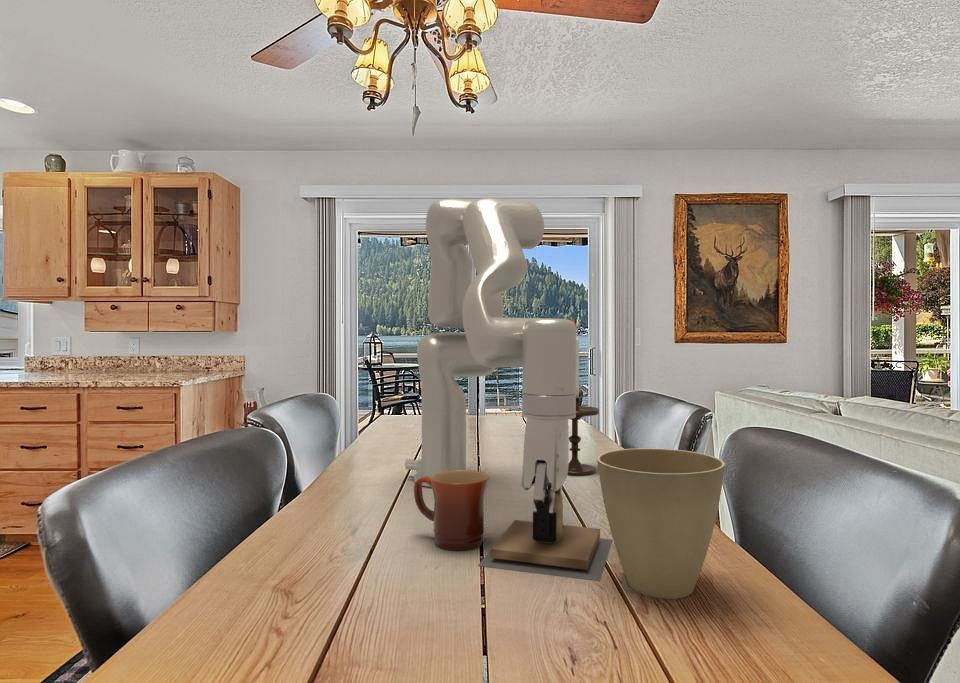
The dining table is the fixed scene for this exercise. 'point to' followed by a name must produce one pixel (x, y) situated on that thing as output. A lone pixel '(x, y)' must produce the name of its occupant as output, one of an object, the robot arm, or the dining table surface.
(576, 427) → the candlestick
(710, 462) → the plant pot
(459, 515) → the mug
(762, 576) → the dining table surface
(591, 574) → the mat
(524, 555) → the lid
